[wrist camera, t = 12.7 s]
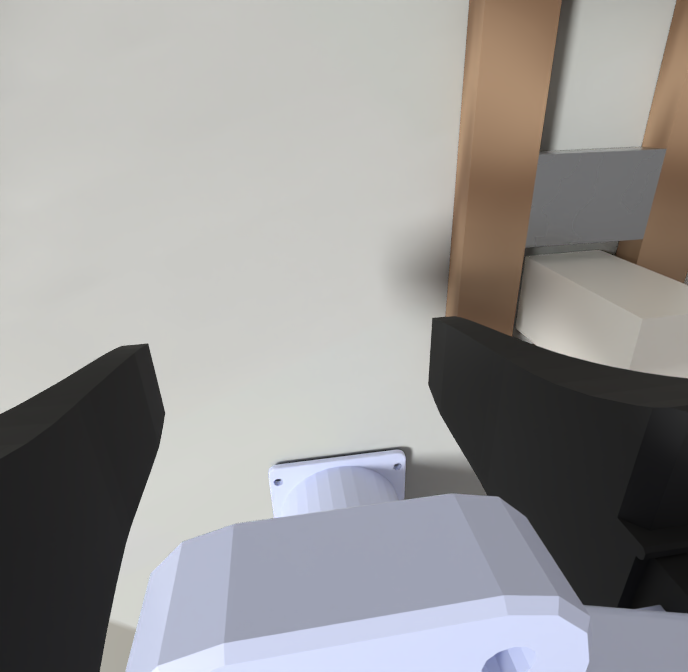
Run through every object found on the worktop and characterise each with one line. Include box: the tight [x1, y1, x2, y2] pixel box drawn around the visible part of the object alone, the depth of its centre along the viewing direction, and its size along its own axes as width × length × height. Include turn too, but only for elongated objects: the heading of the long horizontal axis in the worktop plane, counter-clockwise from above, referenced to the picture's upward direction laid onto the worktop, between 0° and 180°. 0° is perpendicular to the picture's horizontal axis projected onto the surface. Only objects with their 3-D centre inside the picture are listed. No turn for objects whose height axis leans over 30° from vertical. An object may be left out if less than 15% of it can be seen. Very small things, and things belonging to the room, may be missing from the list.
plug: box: [516, 250, 688, 378], centre depth 20 cm, size 4×4×8 cm
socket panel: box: [446, 0, 688, 345], centre depth 21 cm, size 20×12×2 cm, turn 1°
